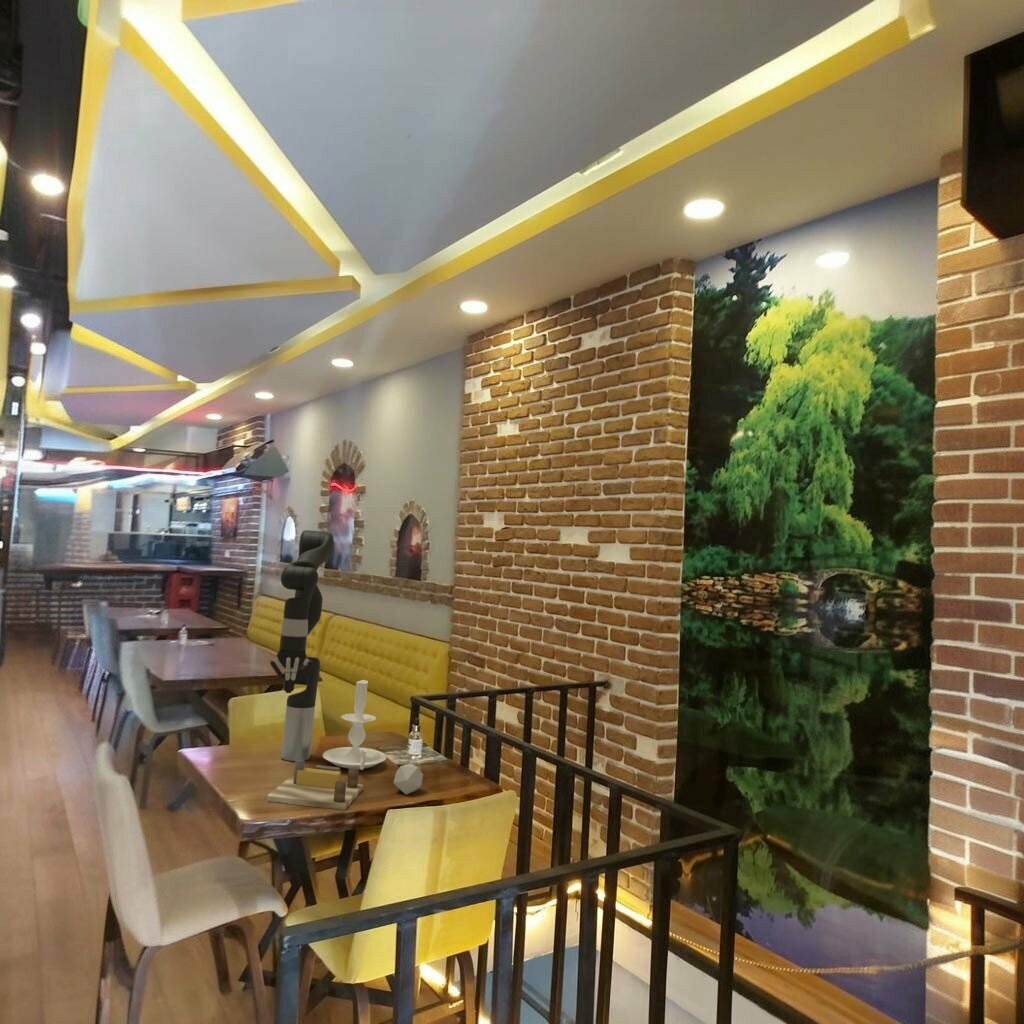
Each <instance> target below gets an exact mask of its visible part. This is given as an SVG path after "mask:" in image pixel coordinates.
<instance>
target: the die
mask: <svg viewBox="0 0 1024 1024" xmlns="http://www.w3.org/2000/svg"><path fill="white" fill-rule="evenodd" d="M423 777H424V773H423V772H422V771H421V770H420V769H419V768H418V767H417V766H416V765H415V764H414V763H412V762H410V763H407V764H404V765H401V766H400V767H399V768H398V769H397V771H396V772H395V775H394V779H393V784H394V785H395V786H396V787H397V788H398V789H399V790H400V792H402V793H403V794H405V795H406V796H407V795H409V794H412V793H414V792H417V791H418V790H419V788H420V787H421V786H422V783H423Z"/></svg>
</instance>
